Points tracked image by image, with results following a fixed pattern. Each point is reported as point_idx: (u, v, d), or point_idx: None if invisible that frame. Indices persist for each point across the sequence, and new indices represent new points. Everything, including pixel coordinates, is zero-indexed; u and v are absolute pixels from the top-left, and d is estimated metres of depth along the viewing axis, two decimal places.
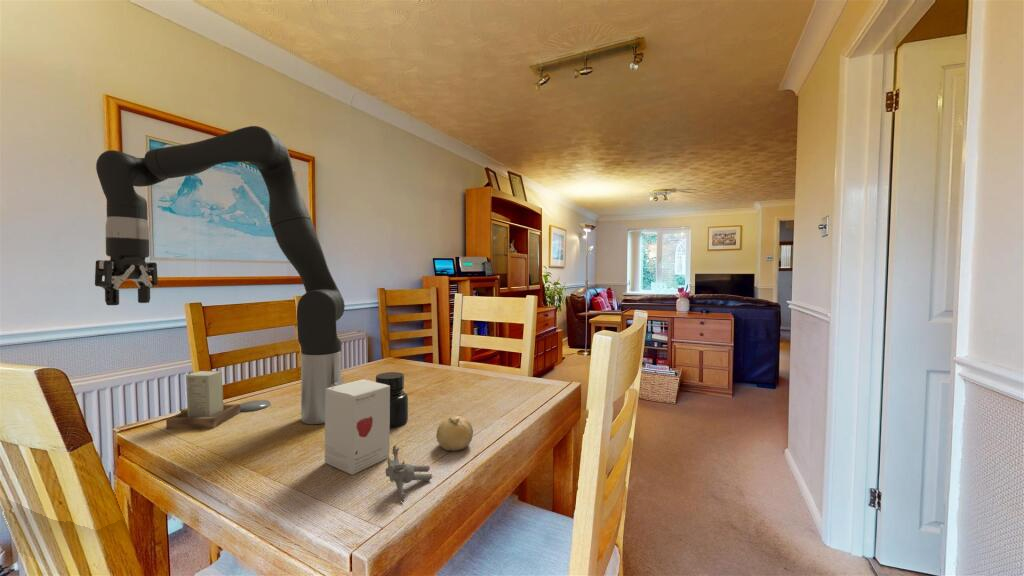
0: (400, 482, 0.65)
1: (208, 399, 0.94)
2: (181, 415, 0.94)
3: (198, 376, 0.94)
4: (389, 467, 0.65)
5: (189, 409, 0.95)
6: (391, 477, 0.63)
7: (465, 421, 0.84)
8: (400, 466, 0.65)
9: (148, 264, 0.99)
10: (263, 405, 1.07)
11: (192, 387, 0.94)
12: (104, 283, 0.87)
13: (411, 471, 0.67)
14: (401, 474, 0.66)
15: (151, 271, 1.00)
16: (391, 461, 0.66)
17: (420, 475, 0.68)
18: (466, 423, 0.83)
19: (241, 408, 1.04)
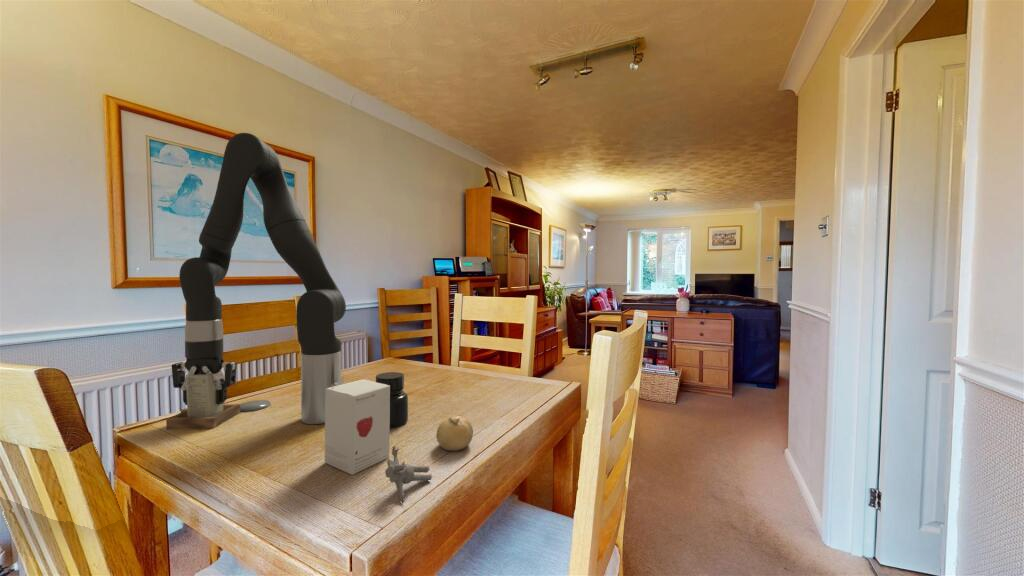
0: (400, 483, 0.65)
1: (208, 399, 0.94)
2: (181, 415, 0.94)
3: (198, 376, 0.94)
4: (389, 468, 0.64)
5: (189, 409, 0.95)
6: (391, 478, 0.63)
7: (465, 421, 0.84)
8: (400, 467, 0.64)
9: None
10: (263, 405, 1.07)
11: (192, 387, 0.94)
12: (234, 382, 0.98)
13: (411, 472, 0.66)
14: (401, 475, 0.65)
15: (183, 371, 0.97)
16: (391, 462, 0.65)
17: (420, 476, 0.68)
18: (466, 423, 0.83)
19: (241, 408, 1.04)
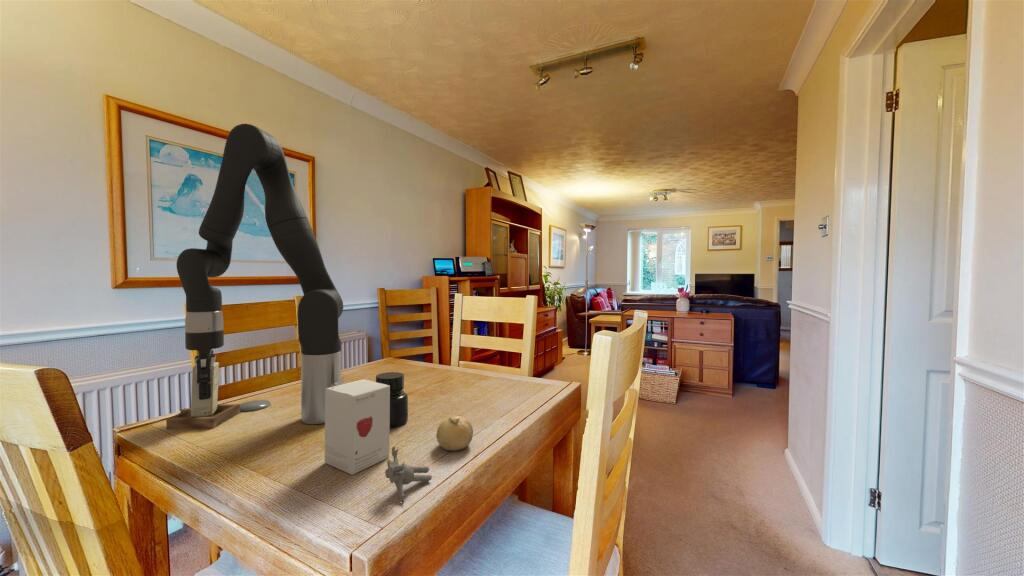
0: (400, 483, 0.64)
1: None
2: (181, 415, 0.94)
3: None
4: (389, 468, 0.64)
5: None
6: (391, 478, 0.63)
7: (465, 421, 0.84)
8: (400, 467, 0.64)
9: None
10: (263, 405, 1.07)
11: None
12: (207, 380, 0.92)
13: (411, 472, 0.66)
14: (401, 475, 0.65)
15: None
16: (391, 462, 0.65)
17: (420, 476, 0.68)
18: (466, 423, 0.83)
19: (241, 408, 1.04)
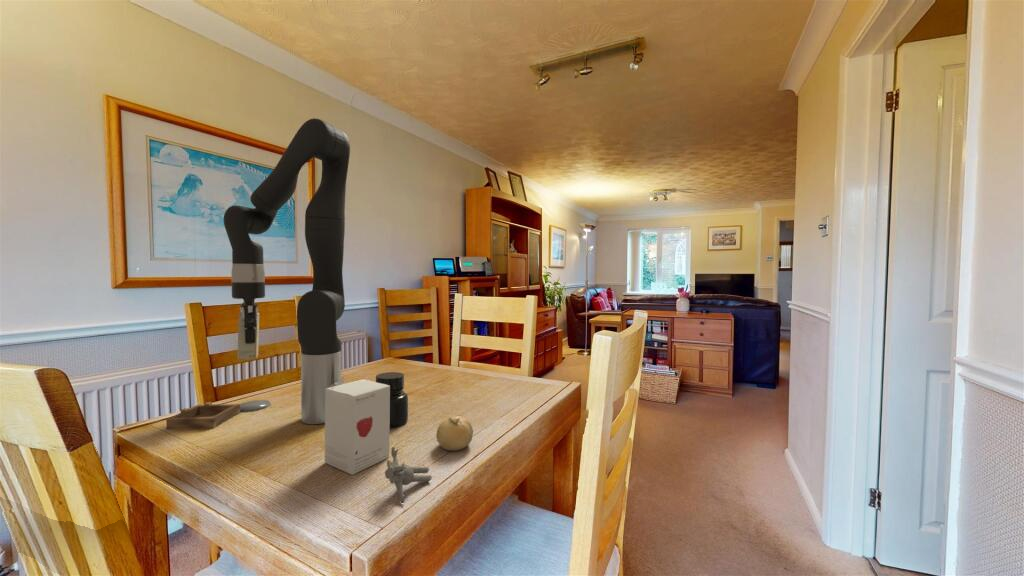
0: (400, 484, 0.64)
1: (238, 336, 1.02)
2: (181, 415, 0.94)
3: None
4: (389, 469, 0.64)
5: None
6: (391, 479, 0.63)
7: (465, 421, 0.84)
8: (400, 468, 0.64)
9: None
10: (263, 405, 1.07)
11: None
12: (254, 325, 1.01)
13: (411, 473, 0.66)
14: (401, 476, 0.65)
15: None
16: (391, 463, 0.65)
17: (419, 477, 0.68)
18: (466, 423, 0.83)
19: (241, 408, 1.04)
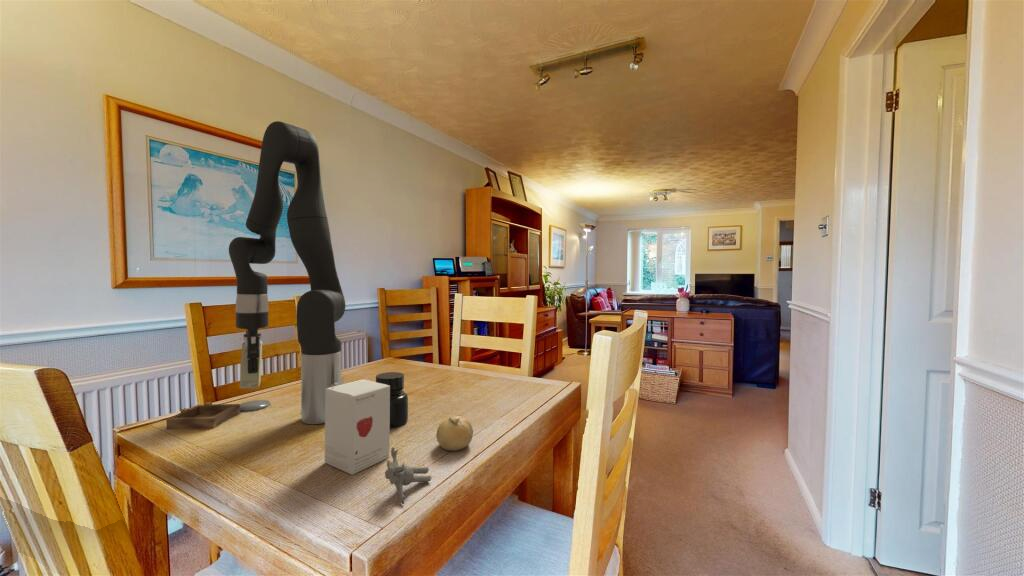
0: (400, 484, 0.64)
1: (241, 366, 1.03)
2: (181, 415, 0.94)
3: (243, 343, 1.05)
4: (389, 469, 0.64)
5: None
6: (391, 480, 0.63)
7: (465, 421, 0.84)
8: (400, 468, 0.64)
9: None
10: (263, 405, 1.07)
11: None
12: (256, 355, 1.02)
13: (411, 473, 0.66)
14: (401, 476, 0.65)
15: None
16: (391, 463, 0.65)
17: (419, 477, 0.68)
18: (466, 423, 0.83)
19: (241, 408, 1.04)
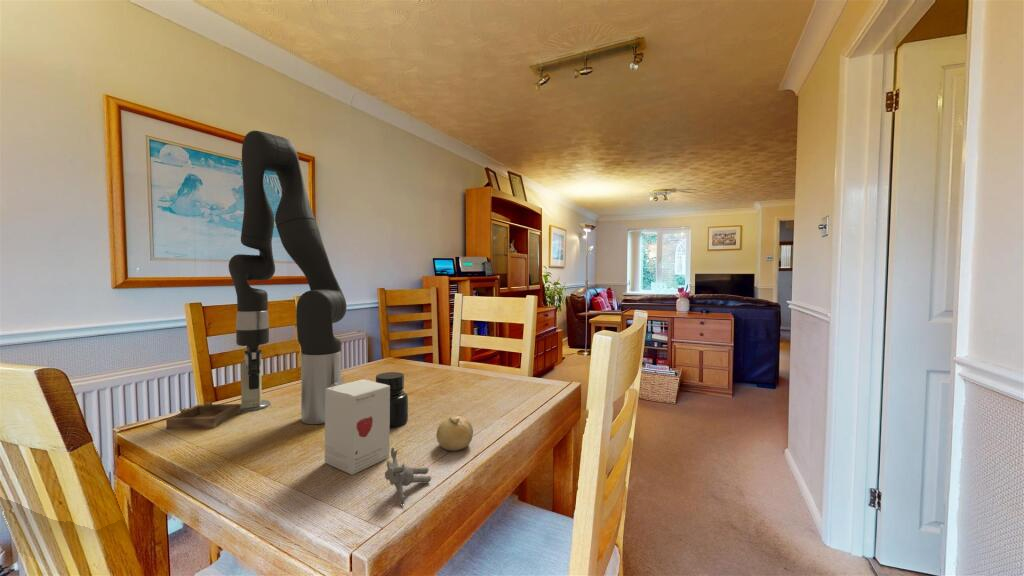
0: (400, 485, 0.64)
1: (241, 386, 1.03)
2: (181, 415, 0.94)
3: (242, 363, 1.05)
4: (389, 470, 0.64)
5: None
6: (391, 480, 0.62)
7: (465, 421, 0.84)
8: (400, 469, 0.64)
9: None
10: (263, 405, 1.07)
11: None
12: (257, 371, 1.02)
13: (411, 473, 0.66)
14: (401, 477, 0.65)
15: None
16: (390, 464, 0.65)
17: (419, 477, 0.68)
18: (466, 423, 0.83)
19: (241, 408, 1.04)
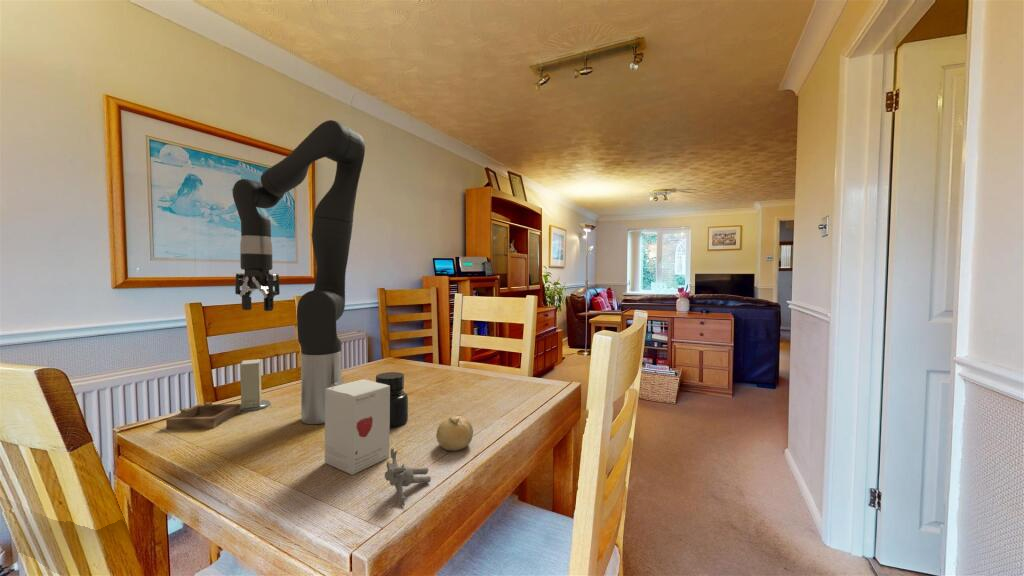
0: (400, 486, 0.64)
1: None
2: (181, 415, 0.94)
3: (241, 363, 1.05)
4: (389, 471, 0.63)
5: None
6: (391, 481, 0.62)
7: (465, 421, 0.84)
8: (400, 469, 0.64)
9: None
10: (263, 405, 1.07)
11: None
12: (278, 292, 1.07)
13: (411, 474, 0.66)
14: (401, 477, 0.64)
15: (245, 281, 1.11)
16: (390, 464, 0.64)
17: (419, 478, 0.67)
18: (466, 423, 0.83)
19: None
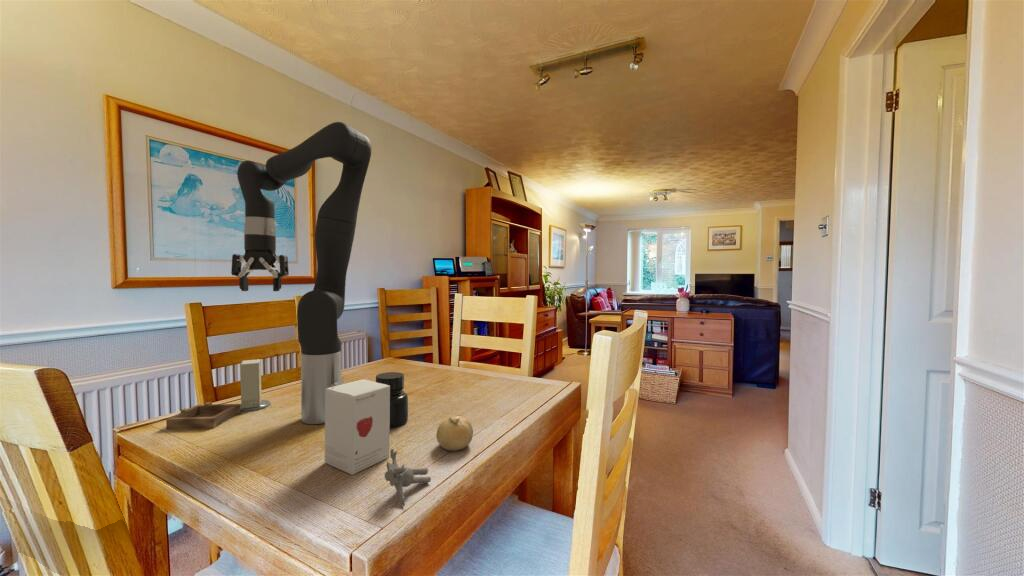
0: (400, 486, 0.64)
1: None
2: (181, 415, 0.94)
3: (241, 363, 1.05)
4: (389, 471, 0.63)
5: None
6: (391, 481, 0.62)
7: (465, 421, 0.84)
8: (400, 470, 0.63)
9: None
10: (263, 405, 1.07)
11: None
12: (287, 273, 1.12)
13: (411, 474, 0.66)
14: (401, 478, 0.64)
15: (240, 262, 1.10)
16: (390, 465, 0.64)
17: (419, 478, 0.67)
18: (466, 423, 0.83)
19: None
